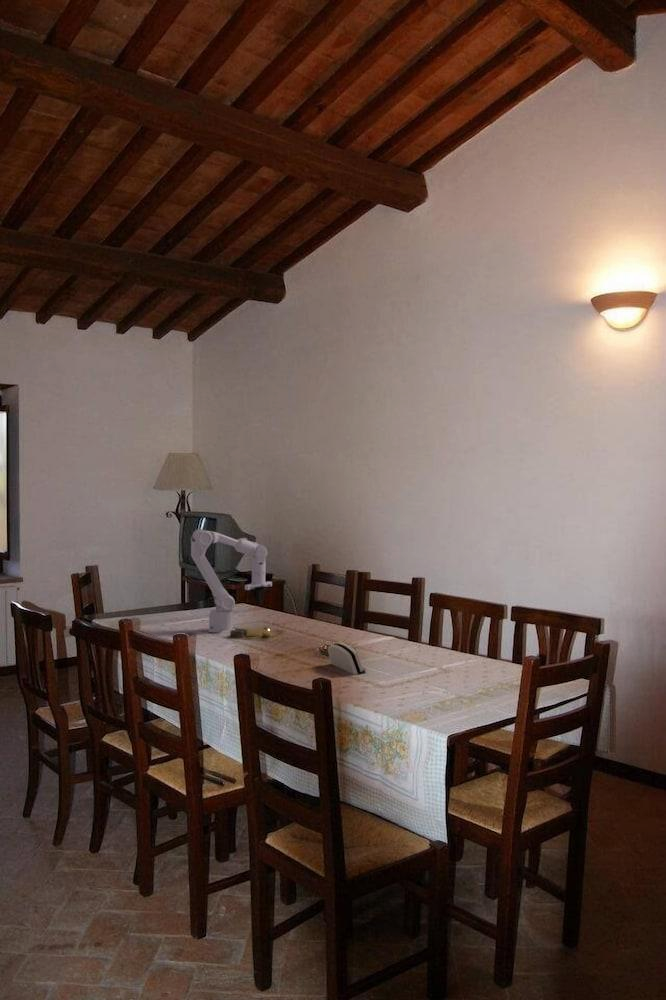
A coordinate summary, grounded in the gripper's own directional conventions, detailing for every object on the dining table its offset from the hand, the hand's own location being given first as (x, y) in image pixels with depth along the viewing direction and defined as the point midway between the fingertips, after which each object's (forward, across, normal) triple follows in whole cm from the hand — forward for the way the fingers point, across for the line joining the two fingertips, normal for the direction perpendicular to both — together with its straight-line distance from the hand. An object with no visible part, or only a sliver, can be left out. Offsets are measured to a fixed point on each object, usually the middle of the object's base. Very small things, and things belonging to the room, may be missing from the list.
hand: (258, 605), depth 352 cm
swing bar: (+9, -16, -12) cm, 22 cm away
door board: (+10, -12, -10) cm, 19 cm away
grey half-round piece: (+11, -28, -68) cm, 74 cm away
